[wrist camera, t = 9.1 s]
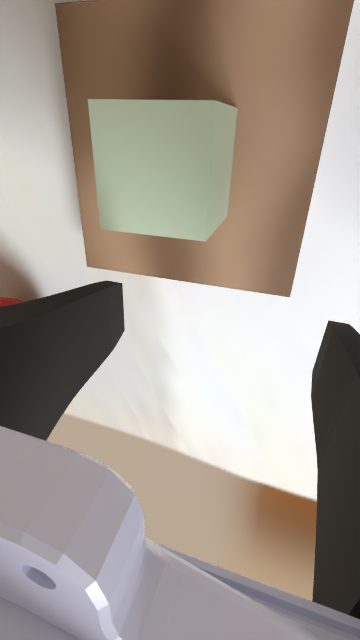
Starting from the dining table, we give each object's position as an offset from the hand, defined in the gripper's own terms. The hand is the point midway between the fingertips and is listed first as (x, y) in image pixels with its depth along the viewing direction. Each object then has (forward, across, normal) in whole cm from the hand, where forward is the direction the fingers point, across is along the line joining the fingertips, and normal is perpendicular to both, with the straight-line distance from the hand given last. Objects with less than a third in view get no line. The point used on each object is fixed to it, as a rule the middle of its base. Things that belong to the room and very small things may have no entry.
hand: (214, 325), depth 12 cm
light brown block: (+9, +4, -4) cm, 11 cm away
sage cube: (+7, +3, -4) cm, 9 cm away
